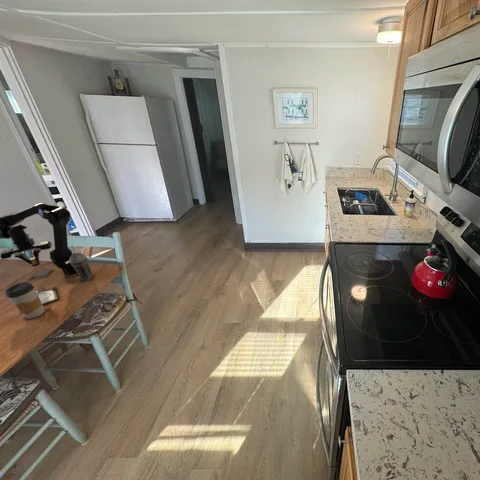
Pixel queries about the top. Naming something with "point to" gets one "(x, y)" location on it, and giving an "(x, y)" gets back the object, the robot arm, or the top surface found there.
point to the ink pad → (41, 273)
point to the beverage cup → (81, 265)
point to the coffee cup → (25, 299)
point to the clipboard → (47, 296)
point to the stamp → (34, 262)
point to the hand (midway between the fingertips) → (35, 263)
